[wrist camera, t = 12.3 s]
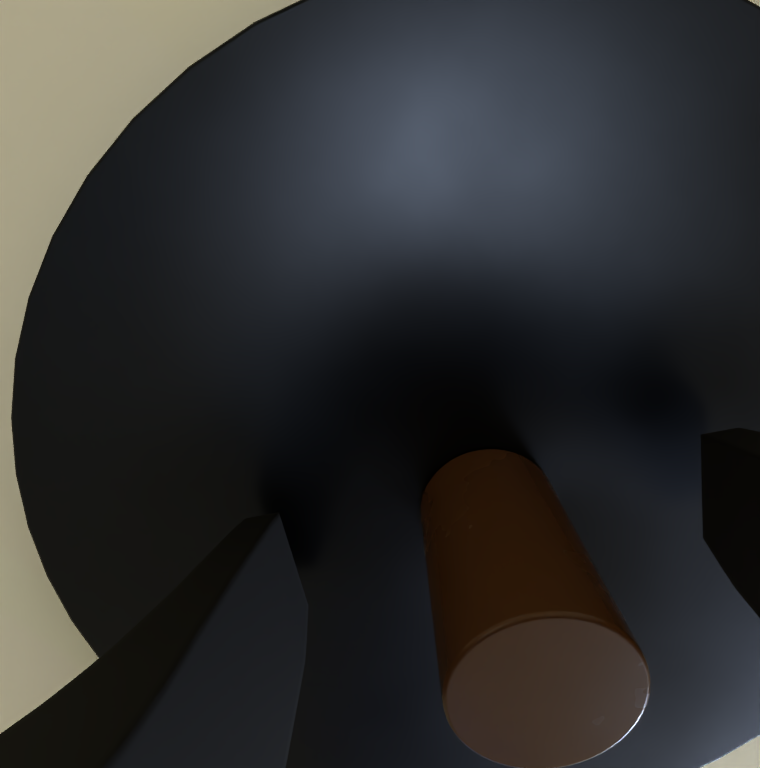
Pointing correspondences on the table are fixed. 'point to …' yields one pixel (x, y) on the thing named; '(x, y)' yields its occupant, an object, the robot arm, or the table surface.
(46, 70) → the table surface
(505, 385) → the lid
